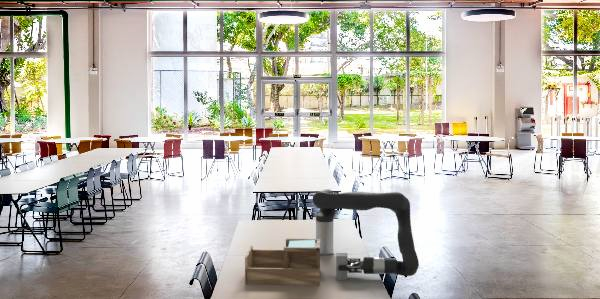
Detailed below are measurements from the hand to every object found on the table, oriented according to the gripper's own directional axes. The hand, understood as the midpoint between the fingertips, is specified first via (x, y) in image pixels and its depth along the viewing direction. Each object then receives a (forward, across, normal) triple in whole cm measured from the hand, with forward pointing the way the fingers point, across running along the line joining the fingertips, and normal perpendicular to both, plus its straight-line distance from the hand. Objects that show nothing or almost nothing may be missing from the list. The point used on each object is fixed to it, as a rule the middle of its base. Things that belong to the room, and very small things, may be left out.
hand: (338, 265), depth 275 cm
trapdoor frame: (+25, 0, +6) cm, 26 cm away
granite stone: (-2, 0, +6) cm, 6 cm away
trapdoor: (+17, 0, -9) cm, 19 cm away
